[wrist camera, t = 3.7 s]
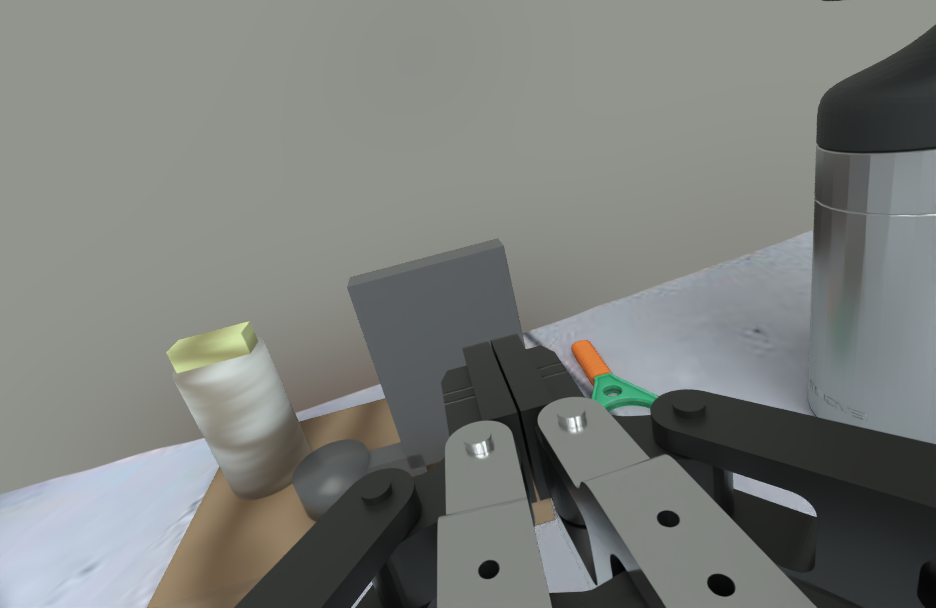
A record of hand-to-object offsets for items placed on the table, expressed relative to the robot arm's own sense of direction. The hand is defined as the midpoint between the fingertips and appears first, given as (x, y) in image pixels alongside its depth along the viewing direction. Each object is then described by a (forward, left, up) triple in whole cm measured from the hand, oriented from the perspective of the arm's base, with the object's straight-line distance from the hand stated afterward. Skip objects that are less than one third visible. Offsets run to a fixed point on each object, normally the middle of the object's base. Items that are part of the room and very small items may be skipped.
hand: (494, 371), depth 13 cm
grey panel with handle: (+5, -16, -15) cm, 23 cm away
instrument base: (+10, -19, -17) cm, 28 cm away
